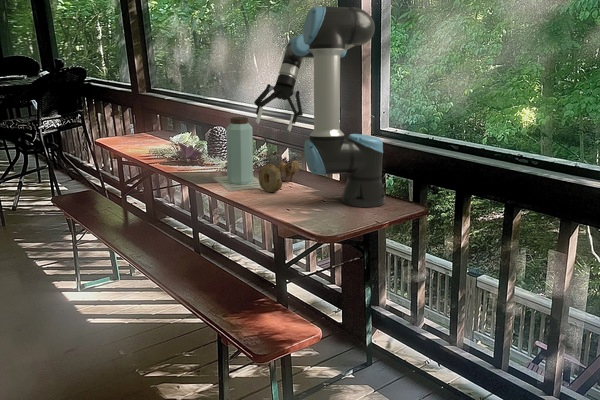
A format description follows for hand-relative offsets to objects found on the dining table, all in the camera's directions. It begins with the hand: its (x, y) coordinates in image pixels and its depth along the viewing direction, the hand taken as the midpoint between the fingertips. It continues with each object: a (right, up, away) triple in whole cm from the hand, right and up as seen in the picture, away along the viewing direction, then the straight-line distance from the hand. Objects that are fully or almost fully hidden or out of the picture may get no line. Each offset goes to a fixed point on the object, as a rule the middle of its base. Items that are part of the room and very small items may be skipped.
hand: (272, 126), depth 230 cm
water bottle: (-12, -22, -5) cm, 26 cm away
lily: (-39, -13, +27) cm, 49 cm away
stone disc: (0, -26, -17) cm, 32 cm away
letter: (-13, -22, -5) cm, 26 cm away
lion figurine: (+6, -22, -1) cm, 22 cm away
